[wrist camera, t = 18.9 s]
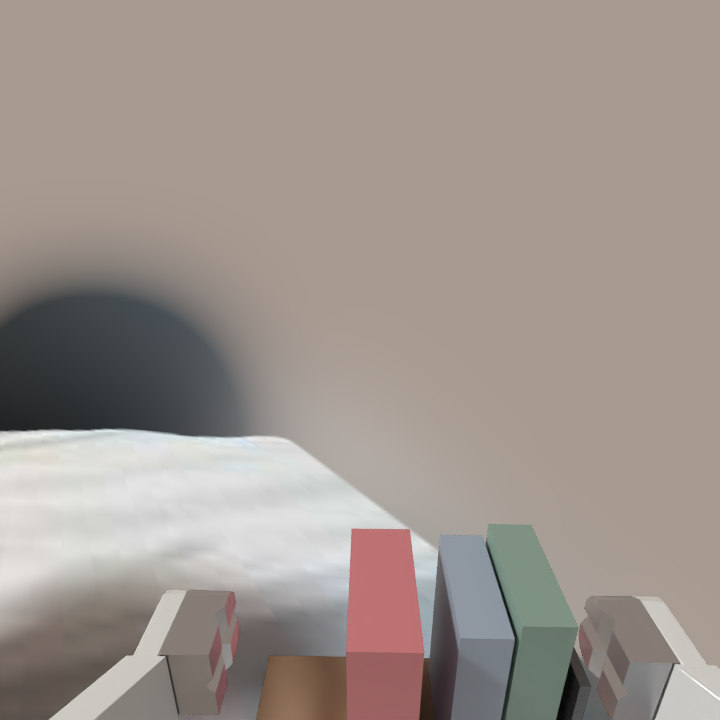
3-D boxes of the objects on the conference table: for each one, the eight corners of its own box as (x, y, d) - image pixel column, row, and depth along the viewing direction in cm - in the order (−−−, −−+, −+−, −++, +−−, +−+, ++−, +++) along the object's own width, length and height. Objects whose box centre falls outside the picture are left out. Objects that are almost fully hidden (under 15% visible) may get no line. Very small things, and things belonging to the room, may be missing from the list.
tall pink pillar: (348, 817, 30) (346, 651, 24) (352, 676, 38) (351, 528, 33) (411, 818, 30) (424, 653, 24) (401, 677, 38) (409, 529, 33)
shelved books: (443, 788, 31) (462, 625, 26) (428, 669, 39) (440, 523, 33) (538, 790, 31) (578, 627, 26) (505, 671, 39) (531, 524, 33)
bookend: (550, 799, 31) (580, 686, 27) (511, 665, 39) (529, 563, 35) (559, 800, 31) (591, 686, 27) (518, 665, 39) (537, 563, 35)
